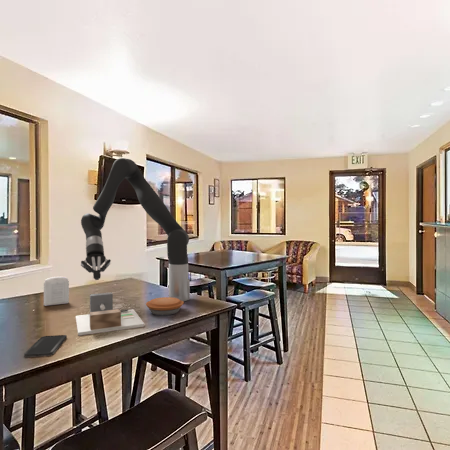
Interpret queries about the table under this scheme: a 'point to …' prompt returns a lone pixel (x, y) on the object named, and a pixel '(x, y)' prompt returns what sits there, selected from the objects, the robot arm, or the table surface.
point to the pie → (164, 305)
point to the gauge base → (127, 322)
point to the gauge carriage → (102, 302)
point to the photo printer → (56, 291)
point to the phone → (45, 346)
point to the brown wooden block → (105, 319)
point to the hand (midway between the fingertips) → (97, 278)
